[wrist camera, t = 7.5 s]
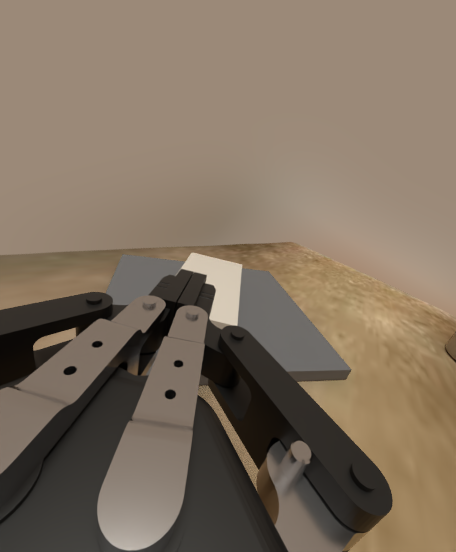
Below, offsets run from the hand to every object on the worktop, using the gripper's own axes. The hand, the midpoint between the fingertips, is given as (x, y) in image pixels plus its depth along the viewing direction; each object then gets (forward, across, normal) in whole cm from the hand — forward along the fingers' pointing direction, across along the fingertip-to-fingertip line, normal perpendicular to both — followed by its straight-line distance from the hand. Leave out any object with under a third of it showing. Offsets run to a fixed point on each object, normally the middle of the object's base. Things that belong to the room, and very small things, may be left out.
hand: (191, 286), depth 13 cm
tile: (+4, 0, +6) cm, 7 cm away
